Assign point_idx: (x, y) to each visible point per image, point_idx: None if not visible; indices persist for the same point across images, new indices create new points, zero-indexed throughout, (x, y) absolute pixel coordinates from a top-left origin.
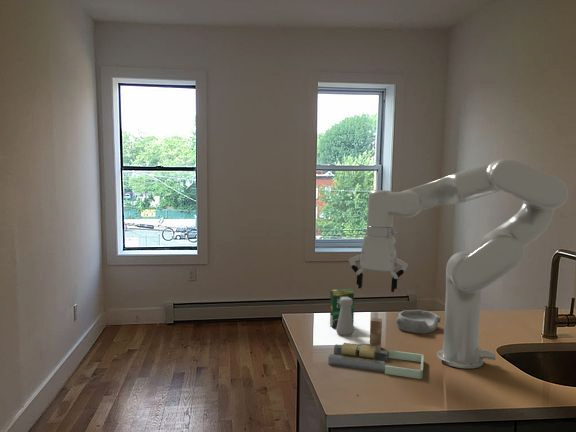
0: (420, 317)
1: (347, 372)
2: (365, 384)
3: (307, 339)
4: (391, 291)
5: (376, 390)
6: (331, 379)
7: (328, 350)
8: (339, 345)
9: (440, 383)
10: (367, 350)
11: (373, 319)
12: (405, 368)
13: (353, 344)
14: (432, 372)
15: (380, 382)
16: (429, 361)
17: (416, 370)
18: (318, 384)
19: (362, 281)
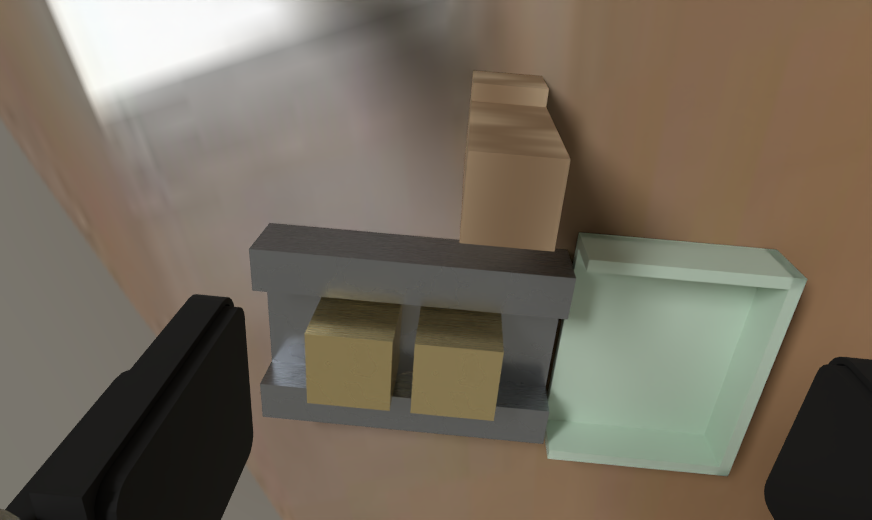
0: None
1: None
2: (461, 485)
3: (11, 6)
4: (769, 491)
5: (504, 517)
6: (323, 472)
7: (215, 173)
8: (276, 258)
9: None
10: (456, 412)
11: (483, 206)
12: (646, 463)
13: (365, 349)
14: (797, 329)
15: (522, 462)
16: (836, 189)
17: (697, 472)
18: (286, 512)
19: (206, 360)
